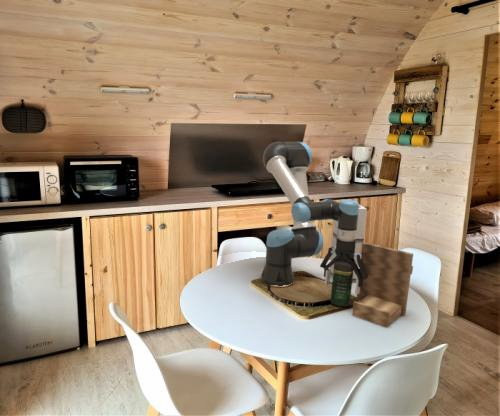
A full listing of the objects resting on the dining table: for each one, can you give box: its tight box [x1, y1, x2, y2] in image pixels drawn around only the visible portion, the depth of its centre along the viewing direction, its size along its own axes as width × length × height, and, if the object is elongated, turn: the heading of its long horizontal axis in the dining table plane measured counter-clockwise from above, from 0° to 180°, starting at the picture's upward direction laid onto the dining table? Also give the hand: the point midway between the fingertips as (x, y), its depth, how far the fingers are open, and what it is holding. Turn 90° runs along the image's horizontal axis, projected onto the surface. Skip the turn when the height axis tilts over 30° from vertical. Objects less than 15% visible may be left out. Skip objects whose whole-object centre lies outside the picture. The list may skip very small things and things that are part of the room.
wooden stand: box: [351, 241, 414, 328], centre depth 170 cm, size 20×17×25 cm
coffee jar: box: [330, 259, 353, 307], centre depth 179 cm, size 10×8×19 cm
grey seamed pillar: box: [329, 204, 368, 284], centre depth 204 cm, size 11×11×35 cm
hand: (341, 289), depth 179 cm, fingers open, 13 cm apart
